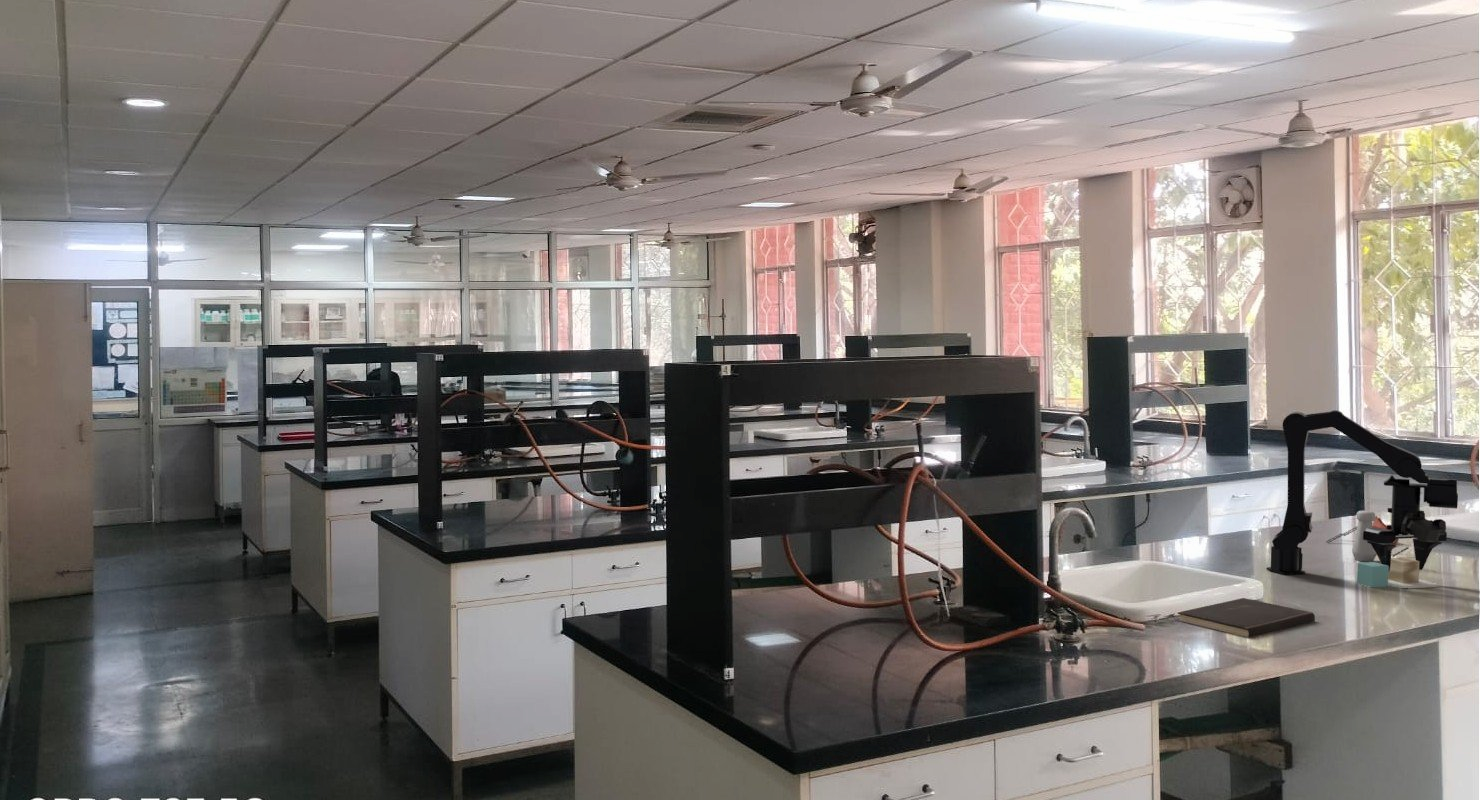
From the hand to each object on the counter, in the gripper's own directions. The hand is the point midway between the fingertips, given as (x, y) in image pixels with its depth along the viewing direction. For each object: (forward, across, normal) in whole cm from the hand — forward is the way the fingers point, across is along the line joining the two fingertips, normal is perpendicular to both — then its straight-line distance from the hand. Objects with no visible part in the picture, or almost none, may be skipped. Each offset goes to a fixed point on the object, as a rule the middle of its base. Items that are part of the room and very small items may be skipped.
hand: (1403, 570), depth 265 cm
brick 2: (+2, 0, 0) cm, 2 cm away
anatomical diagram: (+4, +28, +39) cm, 49 cm away
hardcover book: (+4, -60, -23) cm, 64 cm away
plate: (+3, 0, 0) cm, 3 cm away
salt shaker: (+3, +12, +25) cm, 28 cm away
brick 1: (+3, -8, 0) cm, 9 cm away
